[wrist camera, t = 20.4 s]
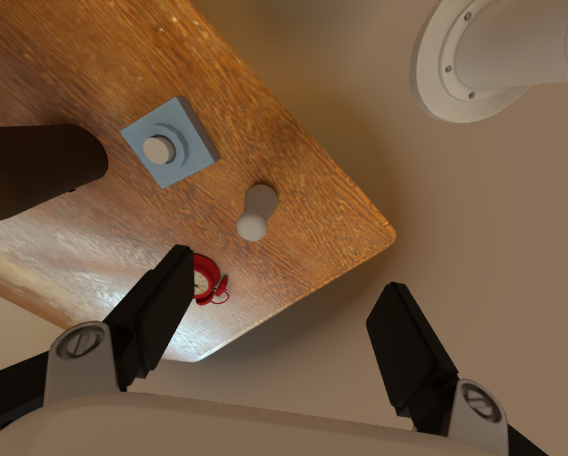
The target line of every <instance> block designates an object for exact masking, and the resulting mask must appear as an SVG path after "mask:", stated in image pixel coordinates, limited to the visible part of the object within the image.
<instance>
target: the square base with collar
mask: <svg viewBox="0 0 568 456" xmlns="http://www.w3.org/2000/svg"><path fill="white" fill-rule="evenodd" d="M120 133H121V135H122V136H123V137H124V139H125V140H126V141H127V143H128V144H129V145H130V147H131V148H132V149H133V151H134V152H135V153H136V155H137V156H138V157H139V159H140V160H141V161H142V163H143V164H144V165H145V167H146V168H147V169H148V171H149V172H150V173H151V175H152V176H153V177H154V179H155V180H156V182H157V183H158V184H159V186H160V187H161V188H162V189H163V188H165V187H167V186H169V185H171V184H173V183H175V182H177V181H179V180H181V179H183V178H185V177H187V176H189V175H191V174H193V173H195V172H197V171H199V170H201V169H203V168H205V167H207V166H209V165H211V164H213V163H215V162H216V161H218V160H219V159H221V157H220V156H219V154H218V152H217V150H216V149H215V147H214V145H213V144H212V142H211V140H210V138H209V137H208V135H207V133H206V131H205V130H204V128H203V126H202V125H201V123H200V121H199V119H198V118H197V116H196V114H195V112H194V111H193V109H192V107H191V106H190V104H189V102H188V100H187V99H186V97H177V96H175V97H174V98H172V99H171V100H169V101H167V102H166V103H164V104H163V105H161V106H159V107H158V108H156V109H155V110H153V111H151V112H150V113H148V114H147V115H145V116H144V117H142V118H140V119H139V120H137V121H136V122H134V123H132V124H131V125H129V126H128V127H126V128H124V129H123V130H121V131H120ZM157 136H163V137H165V138H167V139H169V140H170V141H171V142H172V144H173V145H174V147H175V156H174V158H173V159H172V160H170V161H168V162H166V163H164V164H156V163H153V162H151V161H150V160H149V159H148V158H147V157H146V155H145V153H144V150H143V145H144V142H145V141H146V140H147V139H149V138H153V137H157Z"/></svg>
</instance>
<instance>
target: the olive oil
mask: <svg viewBox="0 0 568 456" xmlns="http://www.w3.org/2000/svg"><path fill="white" fill-rule="evenodd" d="M107 167H108V162H107V157H106V154H105V151H104V149H103V148H102V146H101V145H100V143H99V142H98V141H97V140H96V139H95V138H94V137H93V136H92V135H91V134H90V133H89V132H87V131H86V130H84V129H82V128H80V127H78V126H74V125H69V124H60V125H40V126H11V127H0V220H4V219H7V218H10V217H12V216H15V215H17V214H19V213H21V212H23V211H26V210H28V209H30V208H32V207H34V206H37V205H39V204H41V203H43V202H46V201H48V200H50V199H52V198H55V197H57V196H59V195H61V194H64V193H66V192H72V191H75V188H78V187H80V186H82V185H85V184H87V183H90V182H92V181H94V180H97V179H99V178H101V177H102V176H103V175H104V174H105V173H106V171H107Z"/></svg>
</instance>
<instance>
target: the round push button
mask: <svg viewBox="0 0 568 456" xmlns="http://www.w3.org/2000/svg"><path fill="white" fill-rule="evenodd" d="M143 150H144V153H145V155H146V157H147V158H148V159H149V160H150V161H151V162H153V163H156V164H164V163H166V162H168V161H170V160H172V159H173V158H174V156H175V147H174V145H173V144H172V142H171V141H170V140H169V139H167V138H165V137H163V136H157V137H153V138H149V139H147V140H146V141H145V142H144V145H143Z"/></svg>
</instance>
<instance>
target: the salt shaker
mask: <svg viewBox="0 0 568 456" xmlns="http://www.w3.org/2000/svg"><path fill="white" fill-rule="evenodd" d="M277 203H278V199H277V195H276V193H275V192H274V190H273V189H272V188H271V187H268V186H266V185H256V186H254V187H252V188H250V189H249V191H248V192H247V193H246V197H245V206H244V213H242V214H241V216H240V217H239V219H238V220H237V226H236V229H237V232H238V234H239V235H240V236H241V237H242V238H243V239H245V240H248V241H258V240H260V239H262V238H263V236H264V235H265V234H266V232H267V227H268V223H267V221H268V219H269V218H270V216H271V215H272V214H273V212H274V211H275V209H276V208H277Z"/></svg>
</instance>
